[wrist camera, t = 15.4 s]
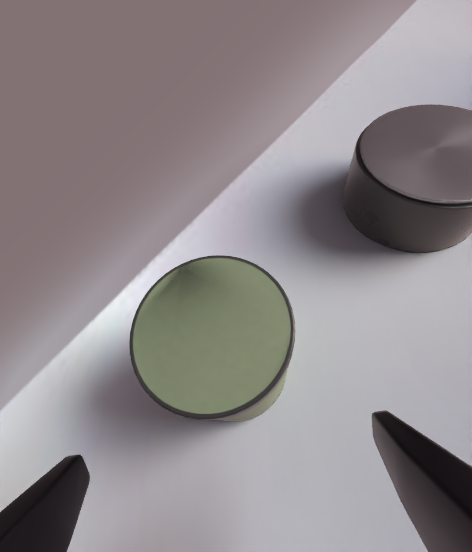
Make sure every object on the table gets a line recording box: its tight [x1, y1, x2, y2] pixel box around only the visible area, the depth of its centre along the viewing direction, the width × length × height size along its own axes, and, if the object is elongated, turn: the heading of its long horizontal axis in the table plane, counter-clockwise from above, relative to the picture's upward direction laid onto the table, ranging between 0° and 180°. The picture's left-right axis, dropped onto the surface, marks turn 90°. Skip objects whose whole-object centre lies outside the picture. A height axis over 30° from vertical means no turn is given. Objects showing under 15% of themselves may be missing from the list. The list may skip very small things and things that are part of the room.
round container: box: [343, 105, 472, 252], centre depth 18 cm, size 9×9×4 cm
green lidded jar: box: [130, 256, 295, 422], centre depth 13 cm, size 6×6×7 cm
